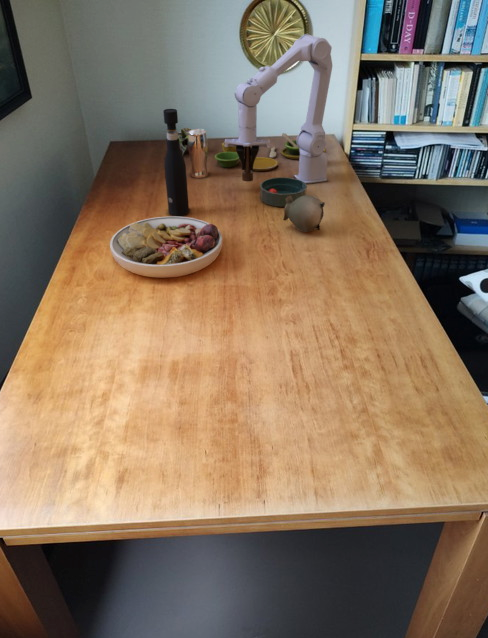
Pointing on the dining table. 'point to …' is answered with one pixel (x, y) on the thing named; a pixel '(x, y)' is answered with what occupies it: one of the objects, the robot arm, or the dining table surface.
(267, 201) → the bowl
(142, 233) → the bowl
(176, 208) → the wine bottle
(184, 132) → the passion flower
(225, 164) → the tableware set
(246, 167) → the muddler
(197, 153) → the metal tumbler
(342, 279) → the dining table surface
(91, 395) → the dining table surface
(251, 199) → the dining table surface
